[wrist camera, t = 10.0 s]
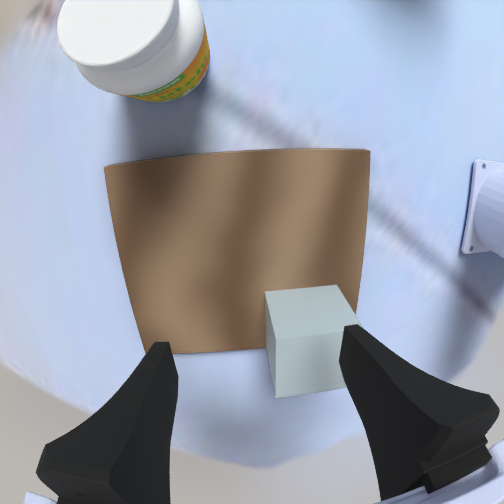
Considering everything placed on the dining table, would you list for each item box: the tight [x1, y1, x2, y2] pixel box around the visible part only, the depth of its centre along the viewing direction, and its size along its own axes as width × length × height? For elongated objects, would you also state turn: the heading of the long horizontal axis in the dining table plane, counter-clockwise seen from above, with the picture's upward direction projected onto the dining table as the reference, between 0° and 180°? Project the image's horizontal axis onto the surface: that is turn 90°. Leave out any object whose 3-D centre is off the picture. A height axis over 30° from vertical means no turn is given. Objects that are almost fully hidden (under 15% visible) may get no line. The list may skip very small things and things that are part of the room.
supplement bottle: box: [57, 0, 210, 102], centre depth 11 cm, size 5×5×10 cm
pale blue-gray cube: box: [265, 285, 363, 398], centre depth 20 cm, size 5×5×5 cm
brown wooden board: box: [104, 148, 370, 354], centre depth 20 cm, size 16×14×1 cm
